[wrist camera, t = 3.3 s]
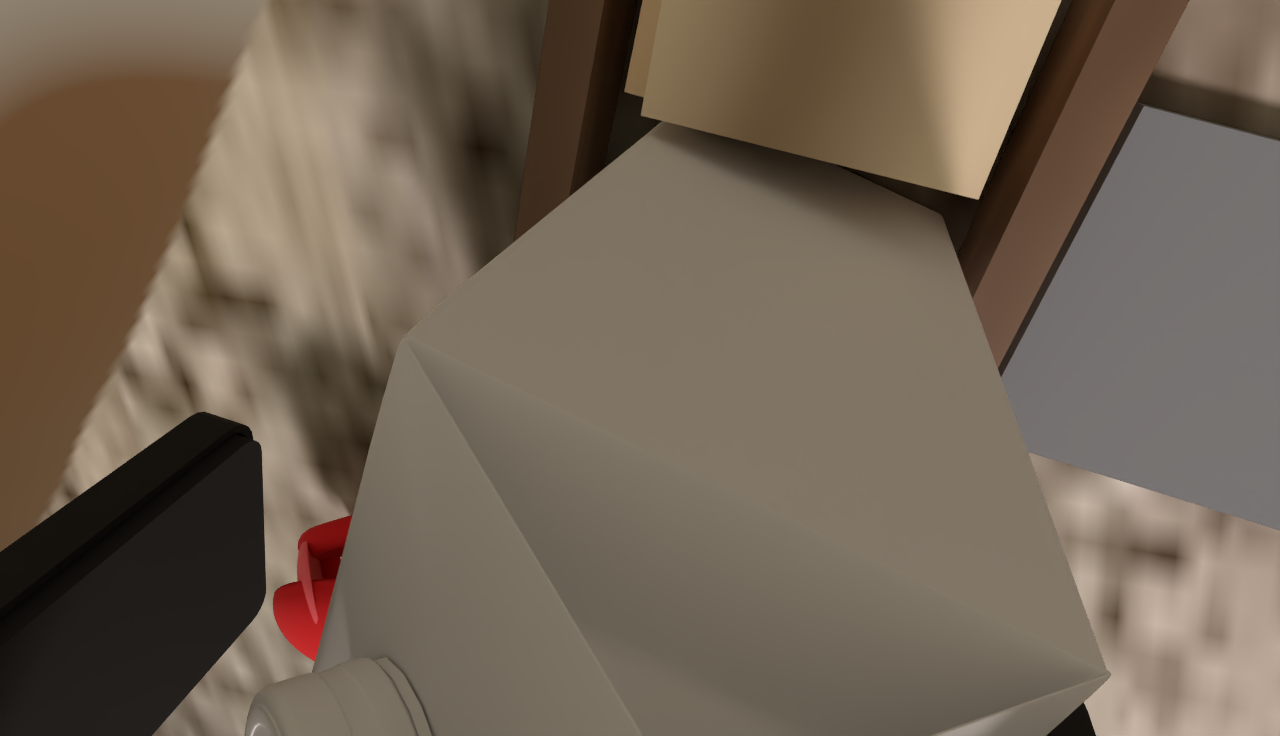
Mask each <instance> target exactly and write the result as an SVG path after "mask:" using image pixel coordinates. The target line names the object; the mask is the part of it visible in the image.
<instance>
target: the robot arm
mask: <svg viewBox="0 0 1280 736" xmlns="http://www.w3.org/2000/svg"><path fill="white" fill-rule="evenodd" d="M265 595H266V573H265V541H264V509H263V477H262V450H261V445H260V444H259V442H257V441H254V440H253V436H252V431H251V430H250V428H249V427H248V426H246V425H243V424H240V423H237V422H234V421H231V420H228V419H225V418H222V417H219V416H216V415H213V414H210V413H206V412H199V413H196V414H194V415H192V416H190V417H189V418H187V419H186V420H185V421H183V422H182V423H180V424H179V425H178V426H176V427H175V428H173V429H172V430H171V431H169V432H168V433H166V434H165V435H164V436H162V437H161V438H159V439H158V440H157V441H155V442H154V443H152V444H151V445H150V446H148V447H147V448H145V449H144V450H143V451H141V452H140V453H138V454H137V455H136V456H134V457H133V458H131V459H130V460H129V461H127V462H126V463H124V464H123V465H122V466H120V467H119V468H117V469H116V470H115V471H113V472H112V473H110V474H109V475H108V476H106V477H105V478H103V479H102V480H101V481H99V482H98V483H96V484H95V485H94V486H92V487H91V488H89V489H88V490H87V491H85V492H84V493H82V494H81V495H80V496H78V497H77V498H75V499H74V500H73V501H71V502H70V503H68V504H67V505H66V506H64V507H63V508H61V509H60V510H59V511H57V512H56V513H54V514H53V515H51V516H50V517H49V518H47V519H46V520H44V521H43V522H42V523H40V524H39V525H37V526H36V527H35V528H33V529H32V530H30V531H29V532H28V533H26V534H25V535H23V536H22V537H21V538H19V539H18V540H17V541H15V542H14V543H12V544H11V545H9V546H8V547H7V548H5V549H4V550H2V551H1V552H0V736H152V735H153V734H154V732H155V731H156V730H157V729H158V728H159V727H160V726H161V724H162V723H163V722H164V721H165V720H166V719H167V718H168V716H169V715H170V714H171V713H172V712H173V711H174V710H175V708H176V707H177V706H178V705H179V704H180V703H181V702H182V700H183V699H184V698H185V697H186V696H187V695H188V694H189V692H190V691H191V690H192V689H193V688H194V687H195V686H196V684H197V683H198V682H199V681H200V680H201V679H202V678H203V676H204V675H205V674H206V673H207V672H208V671H209V670H210V668H211V667H212V666H213V665H214V664H215V663H216V662H217V660H218V659H219V658H220V657H221V656H222V655H223V654H224V653H225V651H226V650H227V649H228V648H229V647H230V646H231V645H232V643H233V642H234V641H235V640H236V639H237V638H238V637H239V635H240V634H241V633H242V632H243V631H244V630H245V629H246V627H247V626H248V625H249V624H250V623H251V622H252V621H253V619H254V618H255V617H256V615H257V614H258V612H259V610H260V608H261V606H262V604H263V602H264V598H265ZM1046 736H1096V735H1095V732H1094V729H1093V726H1092V723H1091V720H1090V717H1089V714H1088V711H1087V709H1086V707H1085V705H1084V702H1083V703H1082V704H1081V705H1080V706H1079V707H1078V708H1076V709H1075V710H1074V711H1073V712H1072V713H1071V714H1070V715H1069V716H1068V717H1066V718H1065V719H1064V720H1063V721H1062V722H1061V723H1060V724H1059V725H1057V726H1056V727H1055V728H1054V729H1053V730H1052V731H1051V732H1050V733H1048V734H1047V735H1046Z"/></svg>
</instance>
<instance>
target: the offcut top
mask: <svg viewBox="0 0 1280 736" xmlns="http://www.w3.org/2000/svg"><path fill="white" fill-rule="evenodd" d="M1060 3H1061V0H662V2H661V8H660V13H659V18H658V24H657V29H656V35H655V40H654V46H653V51H652V57H651V62H650V67H649V73H648V78H647V84H646V89H645V95H644V100H643V106H642V111H641V116H644V117H649V118H653V119H657V120H661V121H665V122H669V123H673V124H677V125H681V126H685V127H689V128H693V129H697V130H701V131H705V132H709V133H713V134H717V135H721V136H725V137H729V138H733V139H737V140H741V141H745V142H749V143H753V144H757V145H761V146H765V147H769V148H773V149H777V150H781V151H785V152H789V153H793V154H797V155H801V156H805V157H809V158H813V159H817V160H821V161H825V162H829V163H833V164H837V165H841V166H845V167H849V168H853V169H857V170H861V171H865V172H869V173H873V174H877V175H881V176H885V177H889V178H893V179H897V180H901V181H905V182H909V183H913V184H917V185H921V186H925V187H929V188H933V189H937V190H941V191H945V192H949V193H953V194H957V195H961V196H965V197H969V198H973V199H977V200H978V199H979V197H980V195H981V192H982V190H983V187H984V185H985V183H986V180H987V178H988V175H989V173H990V171H991V168H992V166H993V163H994V161H995V159H996V156H997V154H998V151H999V149H1000V147H1001V144H1002V142H1003V139H1004V137H1005V135H1006V132H1007V130H1008V127H1009V125H1010V123H1011V120H1012V118H1013V115H1014V113H1015V111H1016V108H1017V106H1018V103H1019V101H1020V99H1021V96H1022V94H1023V91H1024V89H1025V87H1026V84H1027V82H1028V79H1029V77H1030V75H1031V72H1032V70H1033V67H1034V65H1035V63H1036V60H1037V58H1038V55H1039V53H1040V51H1041V48H1042V46H1043V43H1044V41H1045V39H1046V36H1047V34H1048V31H1049V29H1050V27H1051V24H1052V22H1053V19H1054V17H1055V15H1056V12H1057V10H1058V7H1059V5H1060Z"/></svg>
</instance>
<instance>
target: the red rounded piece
mask: <svg viewBox="0 0 1280 736" xmlns="http://www.w3.org/2000/svg"><path fill="white" fill-rule="evenodd" d="M351 519H352V515H351V516H347V517H344V518H340V519H337V520H333V521H330V522H327V523H324V524H321V525H318V526H315V527H313V528H310V529H308V530H307V531H306V532H304V533H303V534H302V535H301V537H300V539H299V541H298V550H299V554H298V564H297V579H298V582H293V583H289V584H286V585H284V586H281V587H280V588H278V589H277V590H276V591H275V593H274V598H273V611H274V616H275V619H276V622H277V624H278V627H279V628H280V630H281V632H282V633H283V635H284V636H285V637H286V639H287V640H288V641H289V642H290V643H291V644H292V645H293V646H294V647H295V648H296V649H297V650H299V651H300V652H301V653H303V654H304V655H305V656H307V657H308V658H310V659H312V660H313V661H315V659H316V655H317V651H318V647H319V644H320V640H321V636H322V632H323V628H324V624H325V620H326V617H327V613H328V609H329V605H330V601H331V597H332V593H333V589H334V585H335V582H336V578H337V574H338V570H339V566H340V562H341V559H340V557H342V554H343V550H344V546H345V543H346V539H347V535H348V531H349V527H350V523H351Z"/></svg>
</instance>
